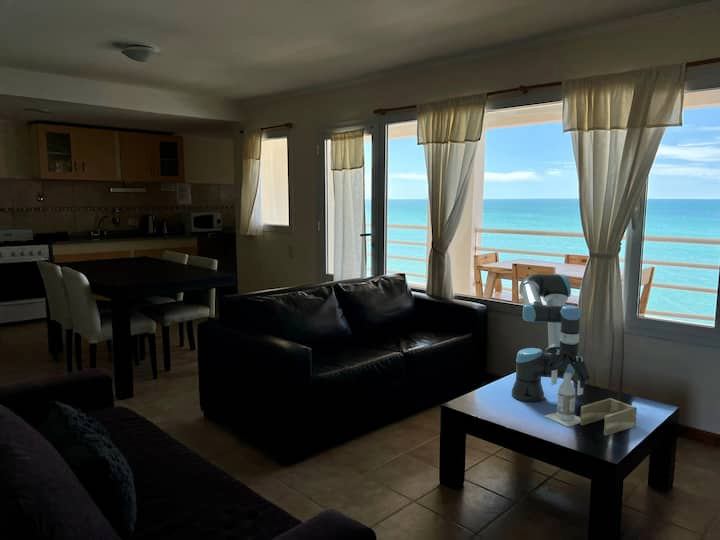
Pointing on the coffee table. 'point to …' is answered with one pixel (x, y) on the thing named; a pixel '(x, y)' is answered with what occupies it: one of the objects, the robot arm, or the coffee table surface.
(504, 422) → the coffee table surface
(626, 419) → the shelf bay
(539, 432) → the coffee table surface
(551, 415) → the tile
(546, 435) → the coffee table surface
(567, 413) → the bath foam
